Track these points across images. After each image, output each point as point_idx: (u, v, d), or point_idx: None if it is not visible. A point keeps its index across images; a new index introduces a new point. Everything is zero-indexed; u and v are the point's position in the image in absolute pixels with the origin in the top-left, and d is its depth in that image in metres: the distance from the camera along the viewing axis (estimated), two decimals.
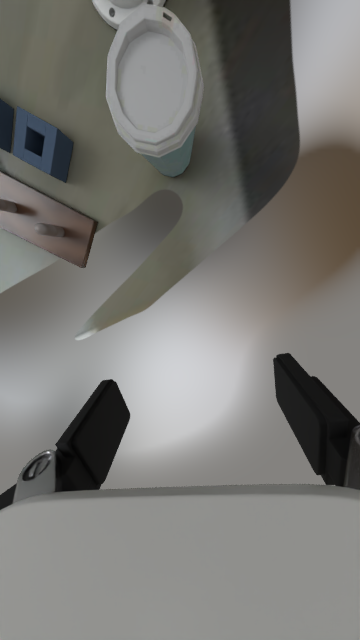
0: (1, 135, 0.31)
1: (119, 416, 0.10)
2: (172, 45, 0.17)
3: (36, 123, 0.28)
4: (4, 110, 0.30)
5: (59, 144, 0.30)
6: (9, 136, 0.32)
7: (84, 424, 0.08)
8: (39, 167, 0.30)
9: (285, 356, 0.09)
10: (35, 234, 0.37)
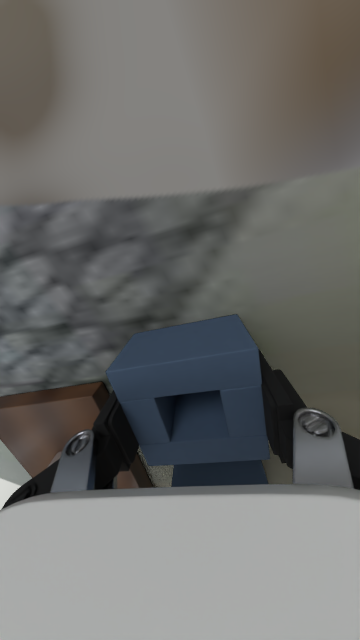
0: None
1: None
2: None
3: None
4: None
5: None
6: None
7: (116, 407, 0.08)
8: None
9: None
10: None
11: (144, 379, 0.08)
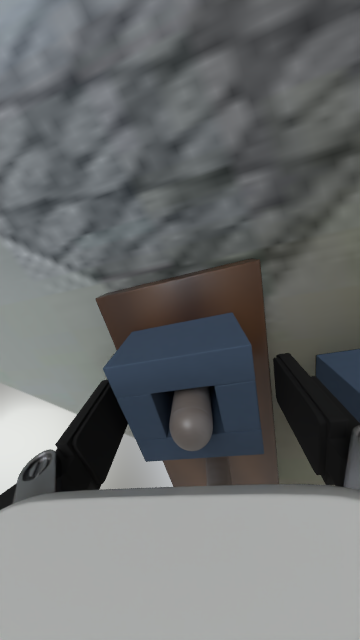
0: None
1: (119, 416, 0.10)
2: None
3: None
4: None
5: None
6: None
7: (84, 424, 0.08)
8: None
9: (285, 356, 0.09)
10: None
11: (141, 375, 0.08)
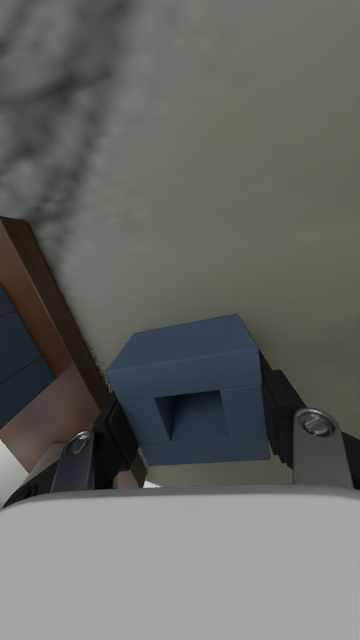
0: None
1: None
2: None
3: (246, 413, 0.08)
4: None
5: None
6: None
7: (116, 407, 0.08)
8: (141, 442, 0.09)
9: None
10: None
11: None
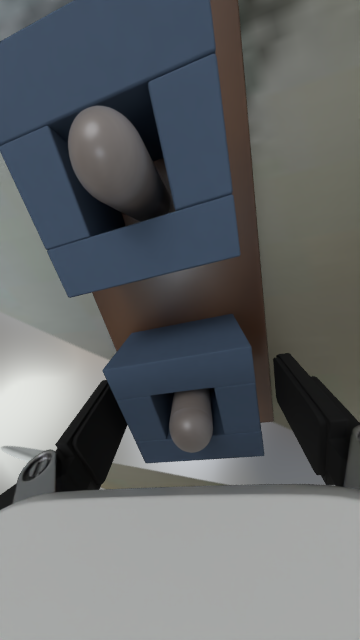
0: None
1: (119, 416, 0.10)
2: None
3: (240, 410, 0.08)
4: None
5: None
6: None
7: (84, 424, 0.08)
8: (138, 439, 0.10)
9: (285, 356, 0.09)
10: (132, 311, 0.11)
11: (23, 71, 0.05)
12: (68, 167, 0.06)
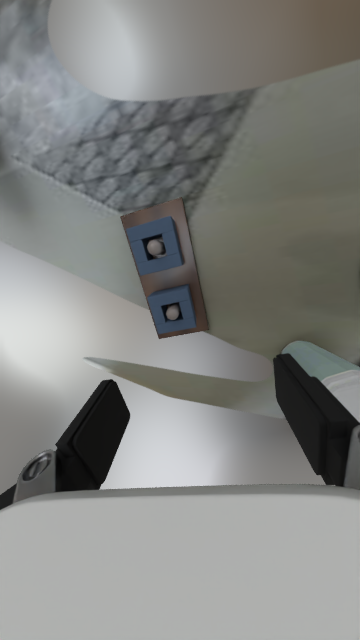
0: None
1: (119, 416, 0.10)
2: None
3: (186, 309, 0.28)
4: None
5: None
6: None
7: (84, 424, 0.08)
8: (156, 323, 0.30)
9: (285, 356, 0.09)
10: (153, 283, 0.31)
11: (138, 231, 0.25)
12: (144, 246, 0.26)
